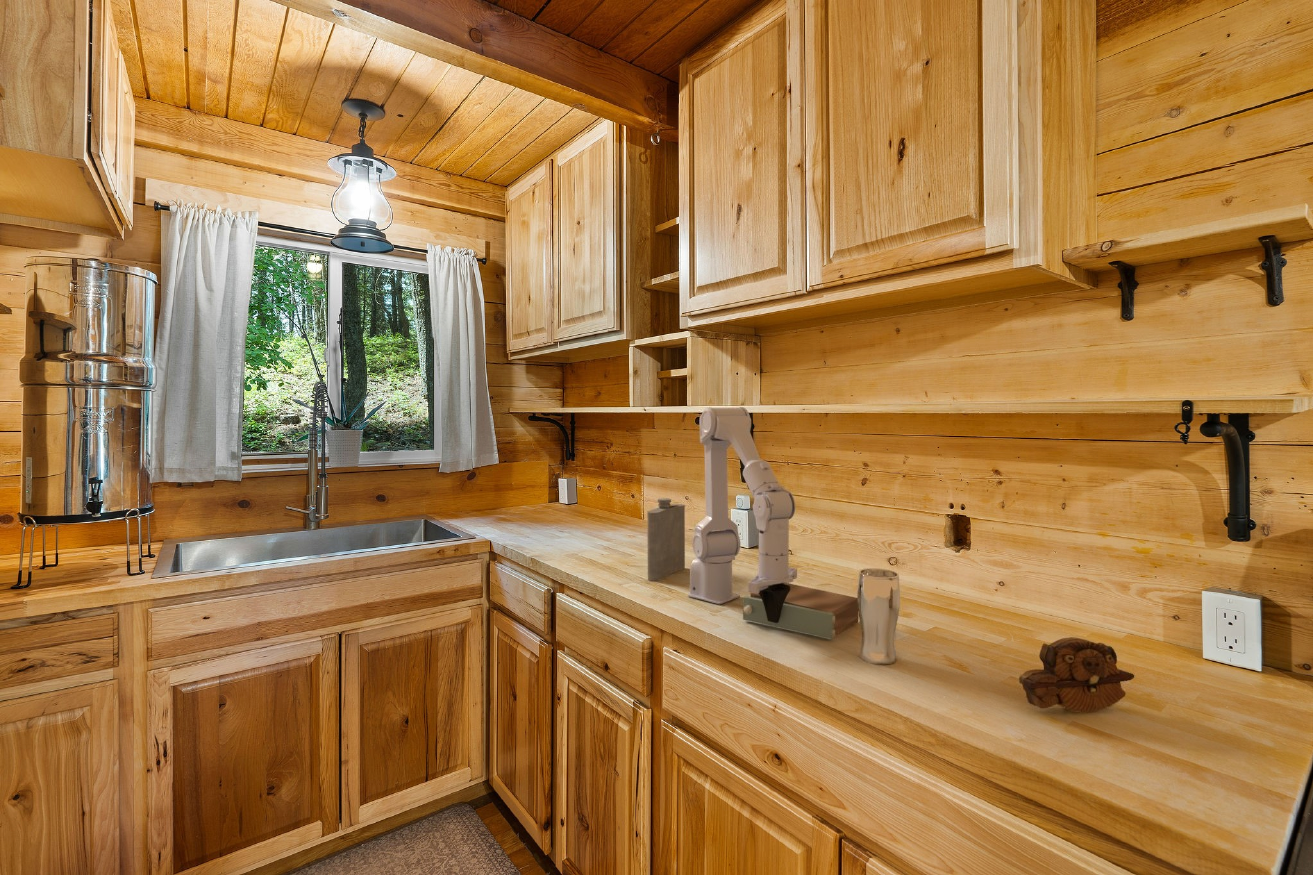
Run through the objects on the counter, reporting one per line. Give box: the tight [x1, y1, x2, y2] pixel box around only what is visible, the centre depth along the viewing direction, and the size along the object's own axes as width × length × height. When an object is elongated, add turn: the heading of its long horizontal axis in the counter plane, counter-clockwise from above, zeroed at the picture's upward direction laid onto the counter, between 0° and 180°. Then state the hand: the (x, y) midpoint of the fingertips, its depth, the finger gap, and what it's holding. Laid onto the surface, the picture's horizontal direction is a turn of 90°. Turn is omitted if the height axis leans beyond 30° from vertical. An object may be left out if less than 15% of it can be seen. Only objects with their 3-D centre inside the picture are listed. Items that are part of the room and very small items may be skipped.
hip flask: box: [646, 497, 686, 582], centre depth 165 cm, size 16×4×20 cm, turn 148°
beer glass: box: [856, 567, 901, 666], centre depth 108 cm, size 7×7×15 cm
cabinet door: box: [742, 595, 836, 640], centre depth 121 cm, size 19×2×5 cm, turn 54°
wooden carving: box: [1018, 636, 1135, 713], centre depth 89 cm, size 16×5×10 cm, turn 101°
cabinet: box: [750, 583, 859, 637], centre depth 128 cm, size 18×12×5 cm, turn 47°
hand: (773, 621), depth 122 cm, fingers closed
